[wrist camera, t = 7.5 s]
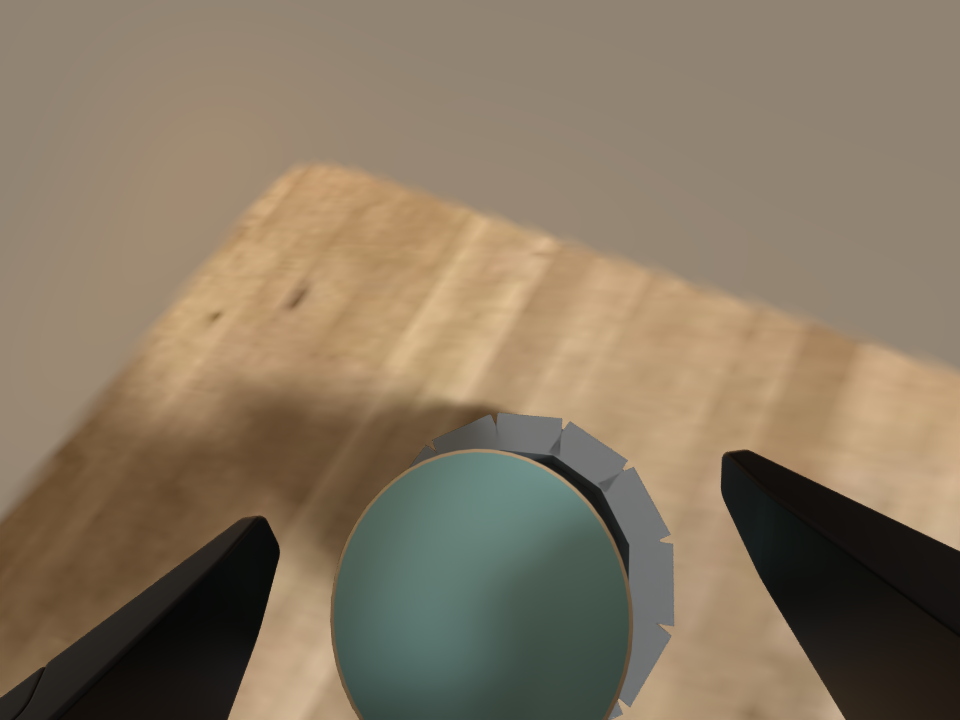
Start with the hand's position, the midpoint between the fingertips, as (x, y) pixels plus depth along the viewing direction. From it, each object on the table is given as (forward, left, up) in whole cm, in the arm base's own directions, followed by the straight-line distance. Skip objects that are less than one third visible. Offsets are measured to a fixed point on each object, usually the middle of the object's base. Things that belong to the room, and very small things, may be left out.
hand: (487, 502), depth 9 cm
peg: (-1, 0, -8) cm, 8 cm away
